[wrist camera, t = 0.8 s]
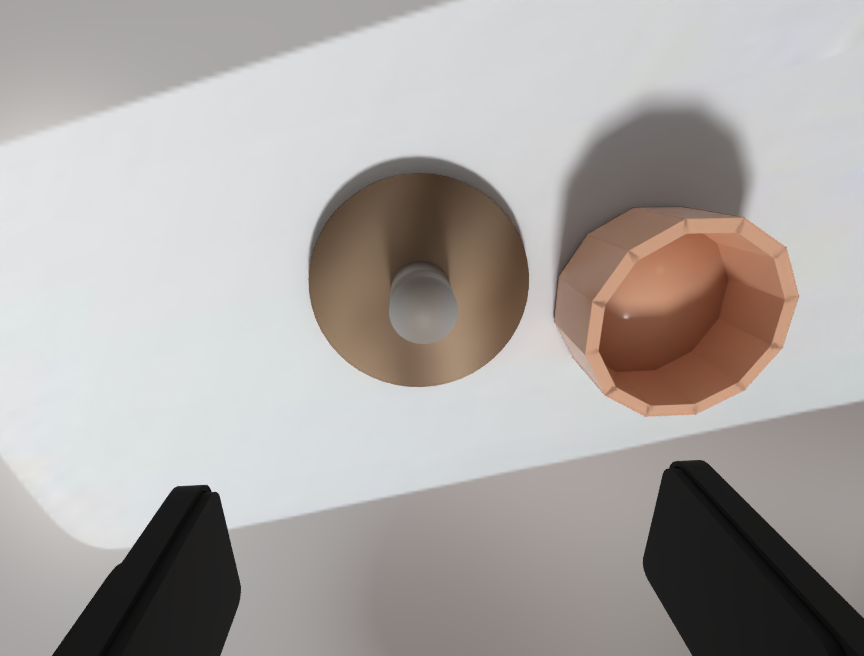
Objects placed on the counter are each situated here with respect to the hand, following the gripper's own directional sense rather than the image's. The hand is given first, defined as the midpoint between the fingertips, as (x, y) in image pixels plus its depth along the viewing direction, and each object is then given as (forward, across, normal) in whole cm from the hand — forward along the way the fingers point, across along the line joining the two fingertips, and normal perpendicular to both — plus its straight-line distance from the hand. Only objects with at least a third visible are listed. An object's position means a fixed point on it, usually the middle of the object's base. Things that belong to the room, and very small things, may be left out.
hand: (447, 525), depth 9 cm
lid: (+19, 0, 0) cm, 19 cm away
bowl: (+18, -14, +1) cm, 23 cm away
